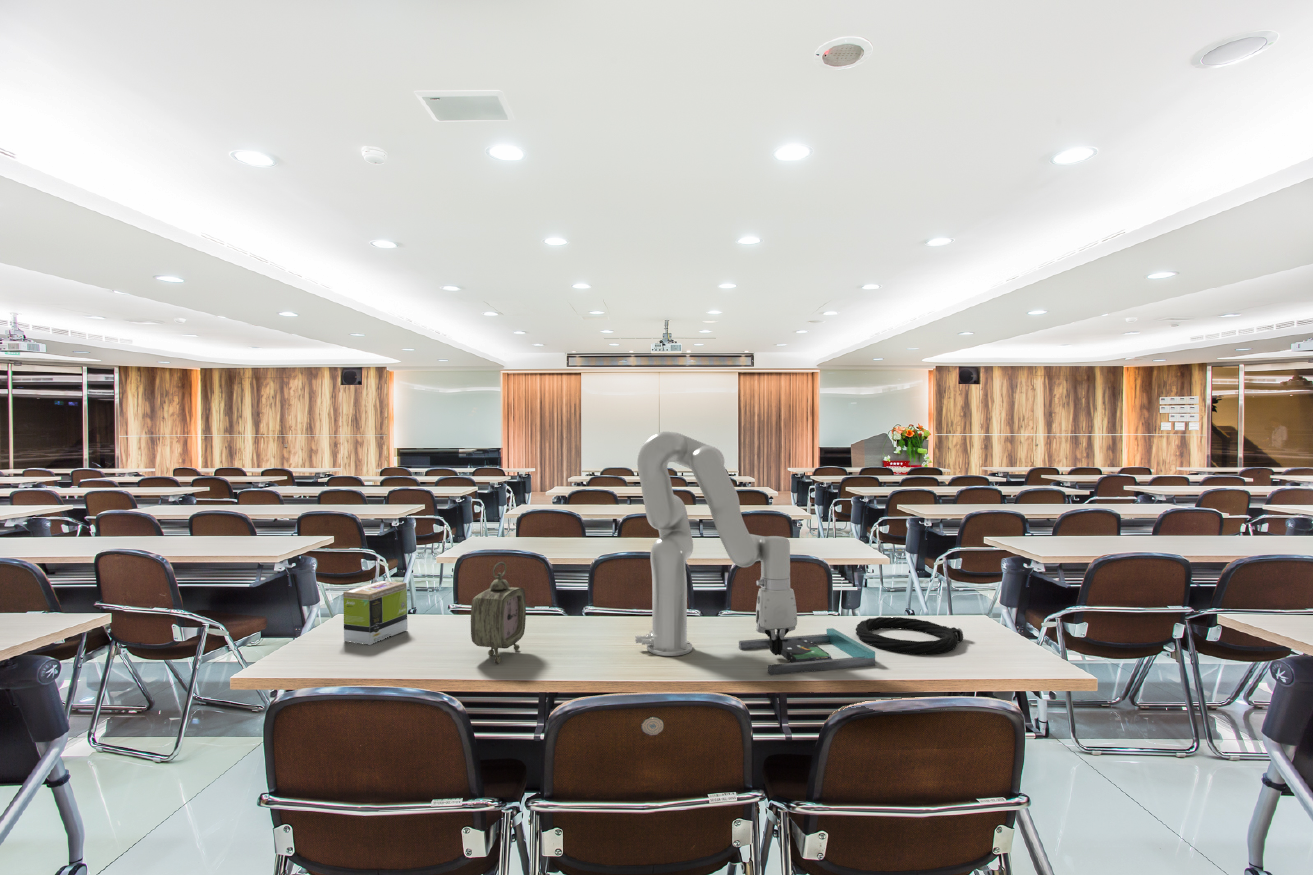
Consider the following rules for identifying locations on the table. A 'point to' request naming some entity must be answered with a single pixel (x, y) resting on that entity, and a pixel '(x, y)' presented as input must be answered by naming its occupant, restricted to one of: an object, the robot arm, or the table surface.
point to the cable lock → (906, 646)
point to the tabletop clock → (498, 616)
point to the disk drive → (803, 651)
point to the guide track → (856, 650)
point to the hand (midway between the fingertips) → (776, 653)
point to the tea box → (375, 612)
